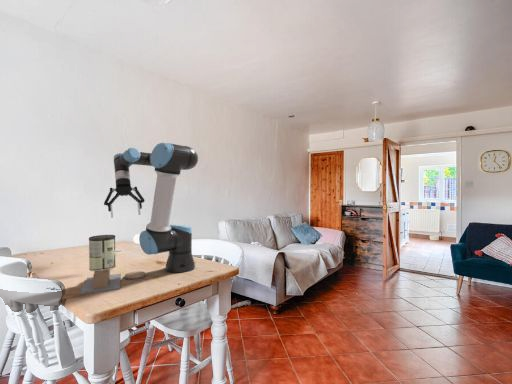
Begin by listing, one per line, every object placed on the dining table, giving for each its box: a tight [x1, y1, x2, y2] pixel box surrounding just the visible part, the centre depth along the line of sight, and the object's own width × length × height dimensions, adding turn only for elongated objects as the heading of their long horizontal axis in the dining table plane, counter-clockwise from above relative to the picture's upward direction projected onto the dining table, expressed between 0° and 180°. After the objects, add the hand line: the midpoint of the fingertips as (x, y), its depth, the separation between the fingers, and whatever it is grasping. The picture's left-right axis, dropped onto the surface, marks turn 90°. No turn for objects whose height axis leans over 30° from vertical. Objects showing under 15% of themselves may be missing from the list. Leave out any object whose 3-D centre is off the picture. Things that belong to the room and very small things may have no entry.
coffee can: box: [88, 234, 117, 272], centre depth 119 cm, size 10×10×14 cm
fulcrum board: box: [79, 269, 122, 295], centre depth 119 cm, size 20×14×7 cm
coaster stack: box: [124, 270, 147, 281], centre depth 129 cm, size 9×9×2 cm
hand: (126, 215), depth 147 cm, fingers open, 13 cm apart
